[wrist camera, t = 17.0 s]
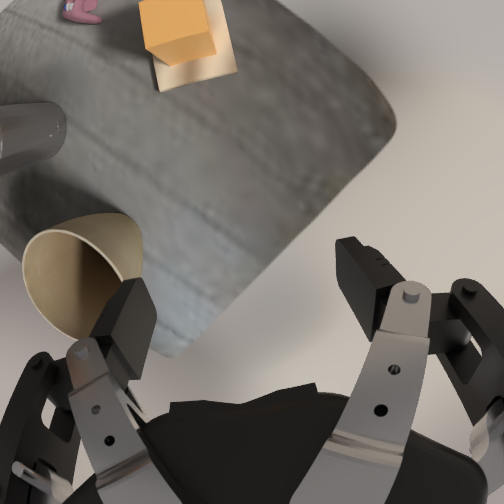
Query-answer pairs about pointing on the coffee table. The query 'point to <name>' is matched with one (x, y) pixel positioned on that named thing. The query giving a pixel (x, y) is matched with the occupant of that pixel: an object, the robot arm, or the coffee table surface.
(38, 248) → the plant pot
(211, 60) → the flat beige base block
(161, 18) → the tall orange pillar
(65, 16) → the video game controller
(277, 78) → the coffee table surface
